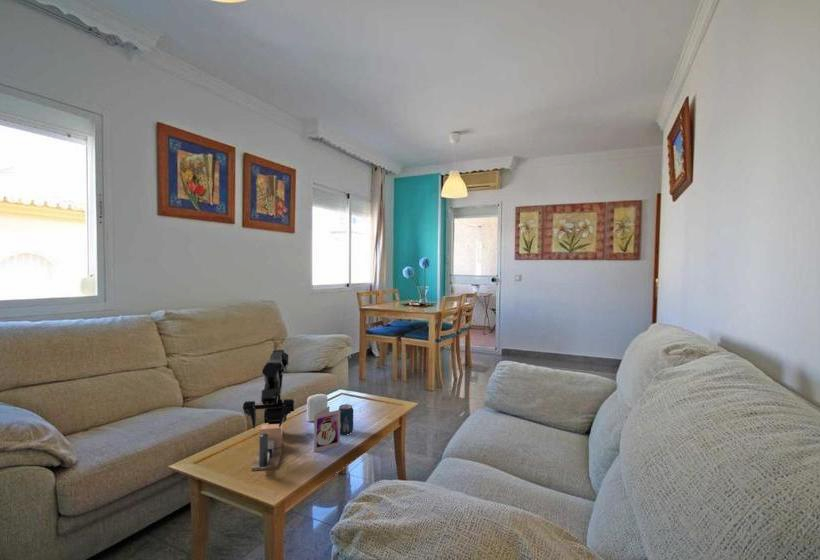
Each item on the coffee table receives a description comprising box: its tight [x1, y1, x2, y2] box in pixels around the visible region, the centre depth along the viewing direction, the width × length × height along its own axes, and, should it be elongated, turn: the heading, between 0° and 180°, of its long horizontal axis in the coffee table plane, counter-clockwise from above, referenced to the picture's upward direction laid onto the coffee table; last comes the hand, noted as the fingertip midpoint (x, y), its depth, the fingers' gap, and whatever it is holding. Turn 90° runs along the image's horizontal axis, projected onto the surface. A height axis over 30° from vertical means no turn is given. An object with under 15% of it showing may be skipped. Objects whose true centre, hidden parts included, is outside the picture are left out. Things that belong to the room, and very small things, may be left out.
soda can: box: [338, 403, 354, 436], centre depth 172 cm, size 7×7×12 cm
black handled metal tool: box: [258, 434, 272, 468], centre depth 142 cm, size 16×3×12 cm, turn 12°
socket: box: [259, 424, 283, 448], centre depth 156 cm, size 4×8×8 cm, turn 102°
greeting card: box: [313, 406, 341, 453], centre depth 159 cm, size 11×7×15 cm, turn 126°
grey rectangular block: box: [268, 439, 276, 459], centre depth 149 cm, size 8×4×4 cm, turn 12°
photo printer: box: [306, 393, 329, 422], centre depth 187 cm, size 10×4×12 cm, turn 125°
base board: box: [251, 441, 284, 471], centre depth 149 cm, size 20×9×1 cm, turn 12°
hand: (266, 427), depth 143 cm, fingers open, 9 cm apart
